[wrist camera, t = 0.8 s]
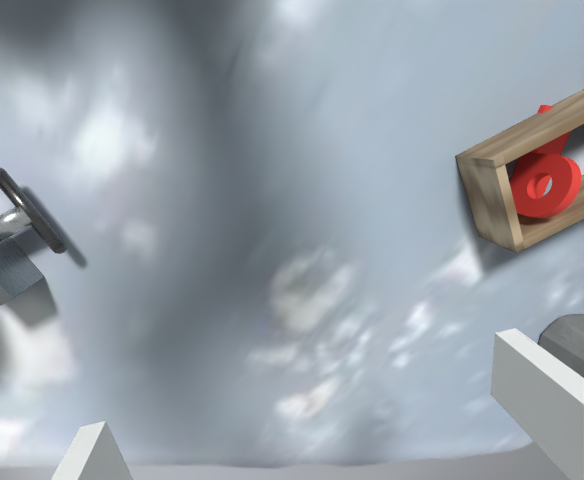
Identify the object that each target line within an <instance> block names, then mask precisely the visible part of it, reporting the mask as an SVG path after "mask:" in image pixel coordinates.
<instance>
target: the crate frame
mask: <svg viewBox="0 0 584 480" xmlns="http://www.w3.org/2000/svg"><path fill="white" fill-rule="evenodd" d="M551 107H553V108H551V109H549V110H547V111H545V112H544V113H537V114H535V115H533V116H532V117H530V118H528V119H526V120H524V121H522V122H520V123H518V124H516V125H514V126H512V127H510V128H508V129H507V130H505V131H503V132H501V133H499V134H497V135H495V136H493V137H491V138H489V139H487V140H485V141H484V142H482V143H480V144H478V145H476V146H474V147H472V148H470V149H468V150H466V151H464V152H462V153H460V154H459V155H457V156H456V159H457V163H458V166H459V170H460V173H461V176H462V180H463V183H464V187H465V190H466V193H467V197H468V200H469V203H470V207H471V210H472V214H473V217H474V220H475V224H476V227H477V231H478V234H479V237H482V238H484V239H486V240H489V241H491V242H493V243H496V244H498V245H500V246H502V247H505V248H507V249H509V250H512V251H514V252H516V253H518V252H520V251H522V250H524V249H525V248H527V247H529V246H531V245H533V244H535V243H537V242H539V241H541V240H543V239H545V238H547V237H549V236H551V235H553V234H555V233H557V232H559V231H561V230H563V229H565V228H567V227H569V226H571V225H573V224H575V223H576V222H578V221H580V220H582V219H584V175H583V176H581V186H580V189H579V192H578V194H577V196H576V198H575V199H574V201H573V202H572V203H571V204H570V205H569V206H568V207H567V208H566V209H565V210H564V211H562V212H561V213H559V214H557V215H555V216H552V217H549V218H541V219H540V218H534V217H530V216H525V215H522V214H518V213H517V212H516V208H515V204H514V200H513V196H512V192H511V187H510V183H509V179H508V175H507V171H506V167H505V164H507V163H509V162H511V161H513V160H515V159H517V158H519V157H521V156H523V155H524V154H526V153H528V152H530V151H532V150H534V149H536V148H538V147H540V146H542V145H544V144H546V143H548V142H550V141H552V140H553V139H555V138H557V137H559V136H561V135H563V134H565V133H567V132H569V131H571V130H573V129H575V128H577V127H579V126H581V125H582V124H584V89H583V90H582V91H580V92H578V93H576V94H574V95H572V96H570V97H568V98H566V99H564V100H562V101H560V102H558V103H557V104H555V105H553V106H551ZM544 196H545V195H544ZM544 196H542V197H544Z"/></svg>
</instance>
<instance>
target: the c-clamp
mask: <svg viewBox="0 0 584 480" xmlns="http://www.w3.org/2000/svg"><path fill="white" fill-rule="evenodd" d="M0 189H1V190H2V191H3V192H4V193H5V195H6V196H7V197H8V198H9V199H10V200H11V202H12V203H13V204H14V205H15V206H16V207H14V208H13V209H11V210H9V211H7V212H5V213H3V214H1V215H0V305H2V304H4V303H6V302H8V301H10V300H12V299H13V298H15V297H16V296H17V295H19V294H20V293H22V292H23V291H25V290H26V289H27V288H29V287H30V286H32V285H33V284H34V283H36V282H37V281H39V280H40V279H42V278H43V277H44V276H43V275H42V273H41V272H40V271H39V270H38V269H37V268H36V267H35V265H34V264H33V263H32V262H31V261H30V260H29V259H28V258H27V256H26V255H25V254H24V253H23V252H22V251H21V250H20V248H19V247H18V246H17V245H16V244H15V243H14V242H13V241H12V239H11V238H10V236H12V235H13V234H15V233H17V232H19V231H21V230H23V229H25V228H27V227H28V226H30V225H32V227H33V228H34V229H35V230H36V231H37V233H38V234H39V235H40V236H41V237H42V239H43V240H44V241H45V242H46V243H47V244H48V246H49V247H50V248H51V249H52V250H53V252H55V253H57V254H61V253H64V252H65V251H66V249H67V246H66V244H65V243H64V242H63V240H62V239H61V238H60V237H59V236H58V234H57V233H56V232H55V231H54V229H53V228H52V227H51V226H50V225H49V223H48V222H47V221H46V220H45V218H44V217H43V216H42V215H41V214H40V212H39V211H38V210H37V209H36V207H35V206H34V205H33V204H32V203H31V201H30V200H29V199H28V198H27V196H26V195H25V194H24V193H23V192H22V190H21V189H20V188H19V187H18V185H17V184H16V183H15V182H14V181H13V179H12V178H11V177H10V176H9V174H8V173H7V172H6V171H5V170H4V169H2V168H0Z"/></svg>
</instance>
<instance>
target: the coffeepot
mask: <svg viewBox="0 0 584 480" xmlns="http://www.w3.org/2000/svg"><path fill="white" fill-rule="evenodd" d="M538 345H539V346H540V347H542V348H543V349H545V350H546V351H547V352H549V353H550V354H551V355H553V356H554V357H556V358H557V359H558V360H560V361H561V362H562V363H564V364H565V365H566V366H568V367H569V368H571V369H572V370H573V371H575V372H576V373H577V374H579V375H580V376H582V377H583V378H584V314H573V315H566V316H563V317H560V318H558V319H557V320H555V321H554V322H552V323H551V324H550V325H549V326H548V327H547V328H546V329H545V330H544V331H543V333H542V334H541V336H540V338H539V341H538Z"/></svg>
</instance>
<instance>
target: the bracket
mask: <svg viewBox="0 0 584 480" xmlns="http://www.w3.org/2000/svg"><path fill="white" fill-rule="evenodd" d="M551 108H553V107H551V106H547V105H541V106H540V108H539V110H538V113H544V112H545V111H547V110H549V109H551ZM570 132H571V131H569V132H567V133H565V134H563V135H561V136H559V137H557V138H555V139H553V140H552V141H550V142H548V143H546V144H544V145H542V146H540V147H538V148H536V149H534V150H532V151H530V152H528V153H526V154H524V155H523V156H521V157H519V160H518V162H517V165H516V167H515V170H514V172H513V175H512V177H511V179H510V182H509V183H510V187H511V192H512V196H513V200H514V204H515V208H516V212H517V213H518V214H522V215H525V216H530V217H534V218H540V219H541V218H549V217H552V216H555V215H557V214H559V213H561V212H562V211H564V210H565V209H566V208H567V207H568V206H569V205H570V204H571V203H572V202H573V201H574V199H575V198H576V196H577V194H578V192H579V189H580V186H581V172H580V169H579V167H578V165H577V164H576V163H575V162H574V161H573V160H571V159H569V158H567V157H563V156H560V155H561V153H562V151H563V148H564V146H565V144H566V141H567V139H568V137H569V135H570ZM551 177H552V187H551V189H550V191H549V192H548V193H547V194H546V195H545V196H544V197H542V196H543V194H544V192H545V189H546V187H547V185H548V182H549V180H550V178H551Z"/></svg>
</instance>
